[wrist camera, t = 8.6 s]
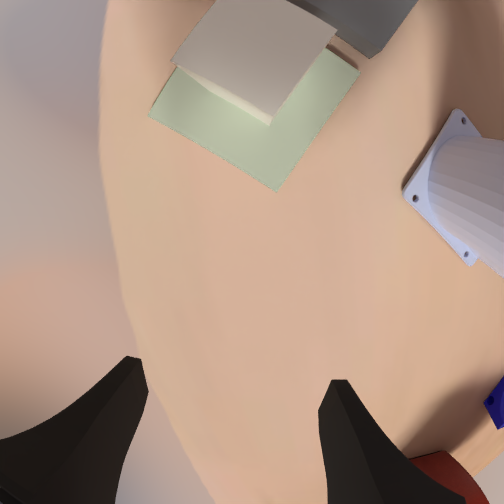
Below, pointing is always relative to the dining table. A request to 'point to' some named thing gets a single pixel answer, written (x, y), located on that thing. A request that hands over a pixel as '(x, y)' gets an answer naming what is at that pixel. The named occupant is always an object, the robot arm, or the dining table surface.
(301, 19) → the plug
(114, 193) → the dining table surface
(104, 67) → the dining table surface
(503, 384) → the cable clip
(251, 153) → the mat
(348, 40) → the gray square hole board
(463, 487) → the plant pot
